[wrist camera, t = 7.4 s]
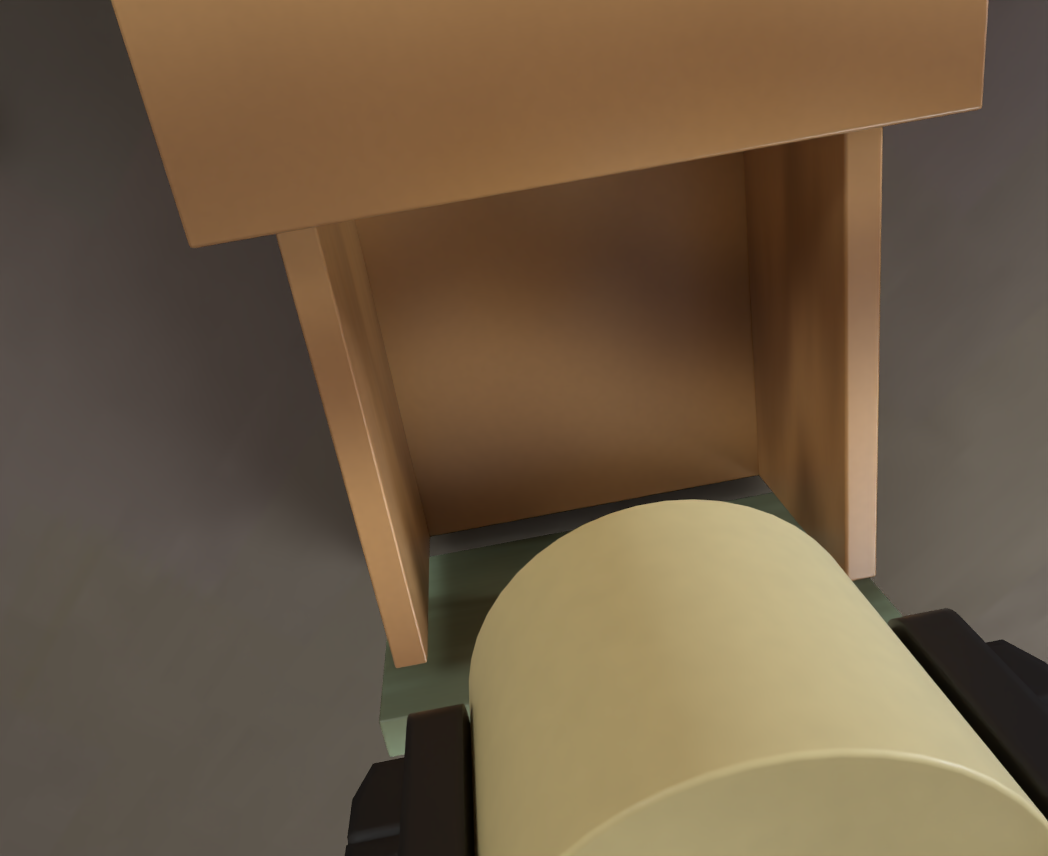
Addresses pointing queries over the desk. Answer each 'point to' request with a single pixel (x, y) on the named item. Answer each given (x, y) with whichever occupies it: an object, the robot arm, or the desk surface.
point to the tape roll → (718, 706)
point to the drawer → (594, 371)
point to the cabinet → (511, 93)
